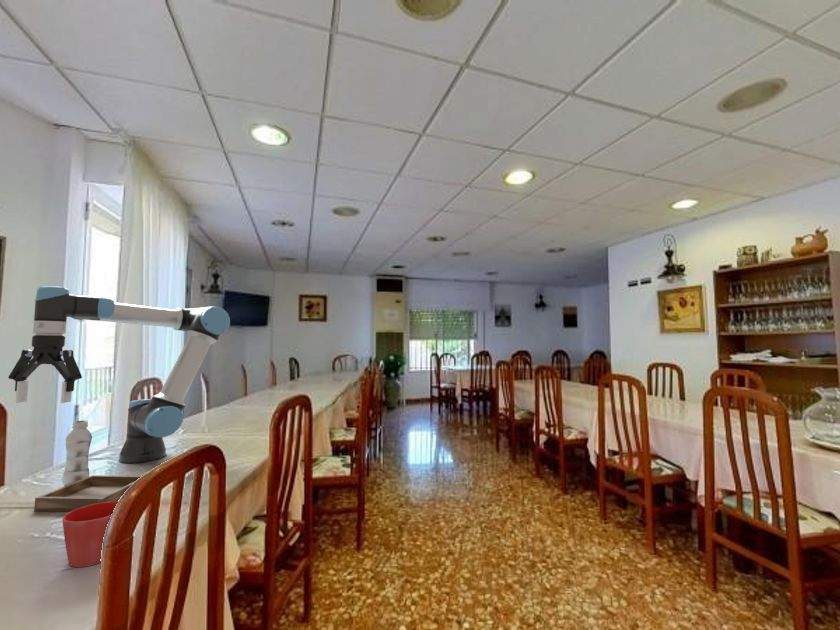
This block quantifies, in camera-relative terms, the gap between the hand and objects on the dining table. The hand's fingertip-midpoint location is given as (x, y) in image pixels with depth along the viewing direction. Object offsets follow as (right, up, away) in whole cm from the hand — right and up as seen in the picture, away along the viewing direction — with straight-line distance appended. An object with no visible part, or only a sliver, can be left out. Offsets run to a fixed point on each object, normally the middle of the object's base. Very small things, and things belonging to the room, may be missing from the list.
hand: (43, 402), depth 119 cm
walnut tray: (+23, -27, -8) cm, 36 cm away
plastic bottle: (+8, -27, +2) cm, 29 cm away
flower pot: (+49, -25, -38) cm, 66 cm away
